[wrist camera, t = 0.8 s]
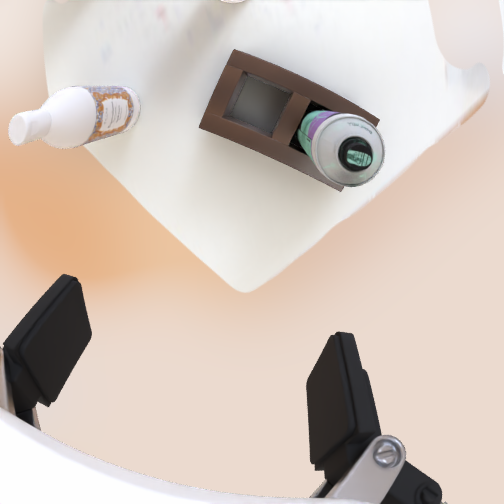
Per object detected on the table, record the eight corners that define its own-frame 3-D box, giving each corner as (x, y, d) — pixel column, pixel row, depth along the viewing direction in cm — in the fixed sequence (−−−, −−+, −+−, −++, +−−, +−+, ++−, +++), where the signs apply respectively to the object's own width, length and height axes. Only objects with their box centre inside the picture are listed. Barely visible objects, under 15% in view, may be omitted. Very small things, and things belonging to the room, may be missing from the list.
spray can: (342, 143, 35) (407, 184, 17) (303, 156, 36) (334, 209, 18) (327, 104, 32) (385, 106, 15) (287, 118, 34) (305, 131, 16)
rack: (239, 57, 30) (233, 48, 25) (364, 116, 32) (380, 119, 27) (209, 124, 35) (198, 127, 29) (331, 179, 37) (341, 192, 32)
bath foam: (138, 135, 35) (41, 171, 18) (97, 131, 35) (-4, 165, 18) (145, 87, 32) (46, 88, 15) (104, 85, 32) (-2, 93, 14)
